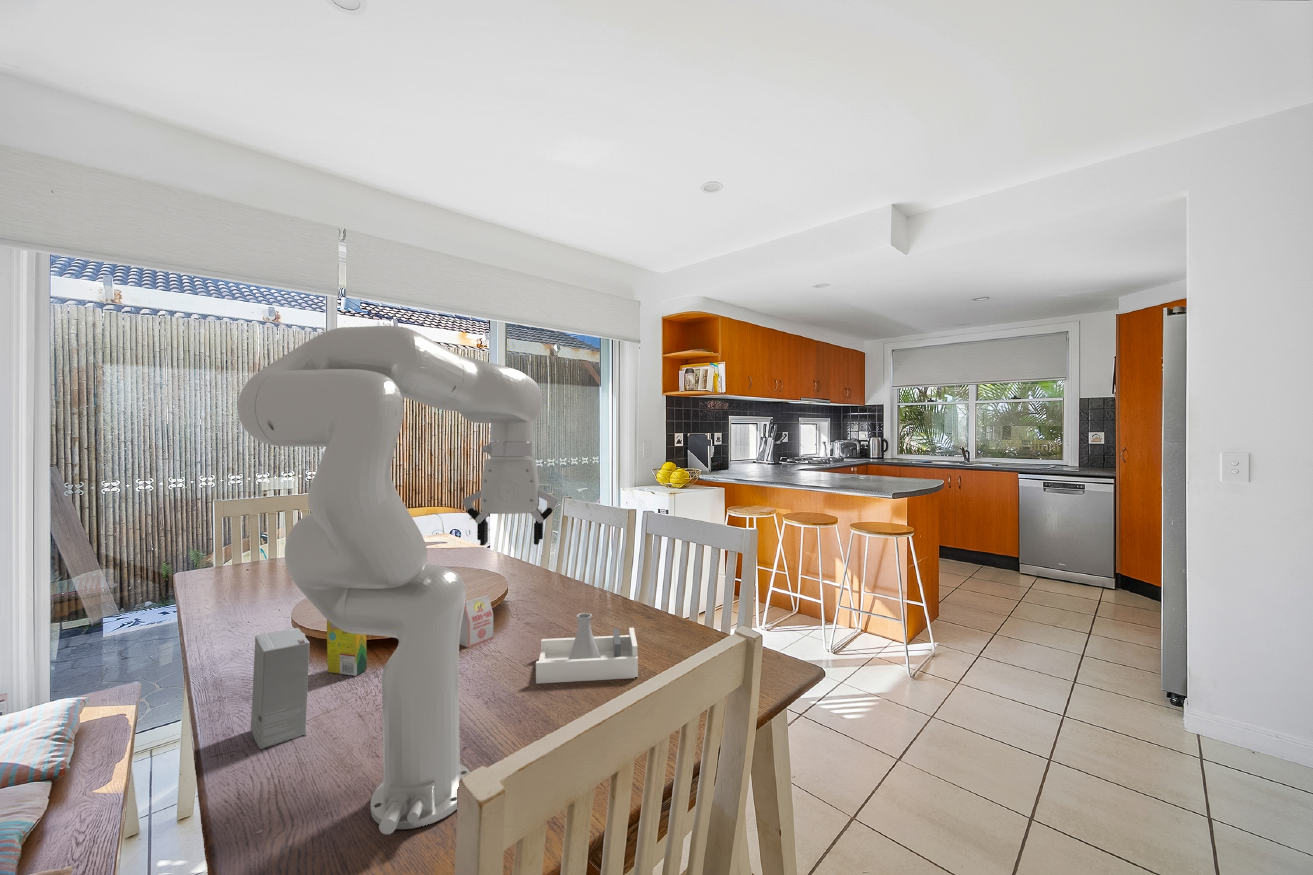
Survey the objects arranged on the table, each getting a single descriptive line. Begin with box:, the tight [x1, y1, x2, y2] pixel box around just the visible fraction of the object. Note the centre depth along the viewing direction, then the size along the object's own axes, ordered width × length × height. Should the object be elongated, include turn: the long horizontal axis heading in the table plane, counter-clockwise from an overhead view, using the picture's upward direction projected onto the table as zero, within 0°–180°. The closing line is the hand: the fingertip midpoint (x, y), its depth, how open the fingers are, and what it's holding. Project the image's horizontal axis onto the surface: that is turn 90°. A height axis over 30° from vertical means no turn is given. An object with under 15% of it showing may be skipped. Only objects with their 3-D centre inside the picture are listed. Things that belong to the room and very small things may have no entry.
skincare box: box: [250, 627, 311, 750], centre depth 89 cm, size 8×7×16 cm
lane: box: [535, 627, 639, 685], centre depth 113 cm, size 12×20×6 cm, turn 97°
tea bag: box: [459, 594, 494, 649], centre depth 127 cm, size 4×7×10 cm, turn 143°
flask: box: [568, 612, 601, 659], centre depth 113 cm, size 7×7×10 cm
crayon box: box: [326, 619, 368, 677], centre depth 111 cm, size 7×3×12 cm, turn 74°
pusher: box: [612, 627, 621, 657], centre depth 114 cm, size 9×1×5 cm, turn 7°
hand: (510, 543), depth 101 cm, fingers open, 9 cm apart
